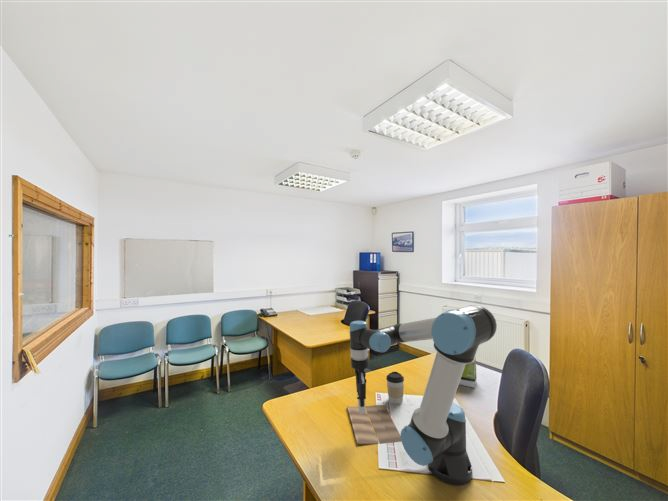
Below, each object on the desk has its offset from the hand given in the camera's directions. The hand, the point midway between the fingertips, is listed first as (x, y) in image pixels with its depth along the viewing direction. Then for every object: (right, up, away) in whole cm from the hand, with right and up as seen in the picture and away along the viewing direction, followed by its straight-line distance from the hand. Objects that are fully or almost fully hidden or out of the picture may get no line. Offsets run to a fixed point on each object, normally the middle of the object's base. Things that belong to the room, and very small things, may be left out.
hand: (361, 412), depth 123 cm
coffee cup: (+20, -10, +27) cm, 35 cm away
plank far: (0, -10, +14) cm, 18 cm away
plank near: (+1, -10, 0) cm, 10 cm away
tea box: (+64, -9, +47) cm, 81 cm away
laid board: (+10, -10, +8) cm, 17 cm away
